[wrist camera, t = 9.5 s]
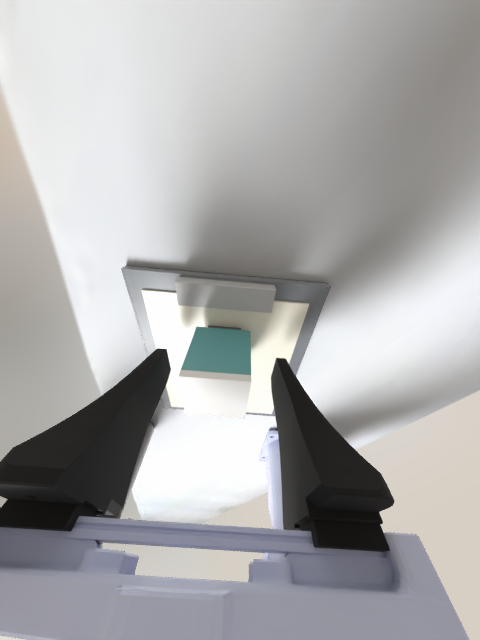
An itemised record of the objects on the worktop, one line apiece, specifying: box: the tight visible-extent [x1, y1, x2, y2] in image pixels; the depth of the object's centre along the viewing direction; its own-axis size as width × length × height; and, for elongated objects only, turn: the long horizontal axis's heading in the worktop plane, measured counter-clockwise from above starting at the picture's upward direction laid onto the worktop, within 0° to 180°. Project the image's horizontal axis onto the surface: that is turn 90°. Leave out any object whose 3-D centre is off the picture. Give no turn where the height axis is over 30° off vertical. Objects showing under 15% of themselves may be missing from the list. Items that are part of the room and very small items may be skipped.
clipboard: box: [121, 266, 331, 416], centre depth 16 cm, size 16×13×1 cm
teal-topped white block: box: [178, 325, 251, 418], centre depth 12 cm, size 4×4×5 cm
